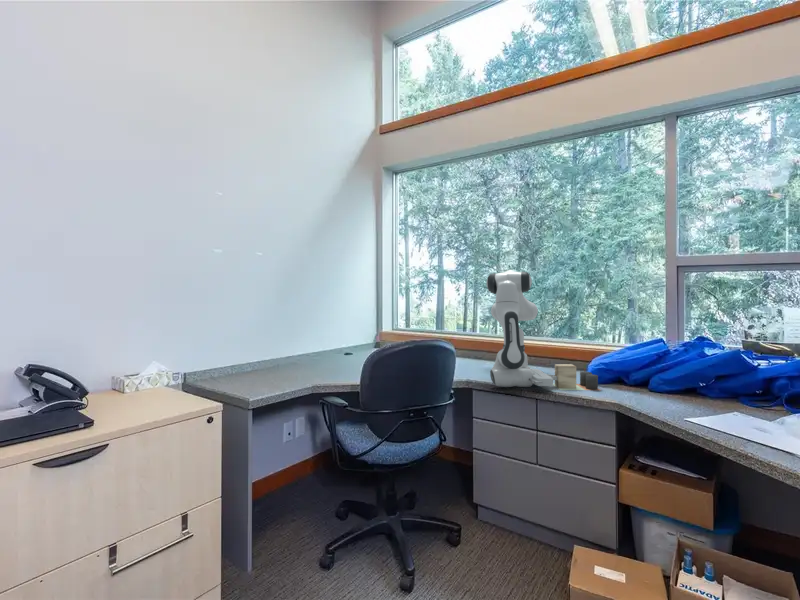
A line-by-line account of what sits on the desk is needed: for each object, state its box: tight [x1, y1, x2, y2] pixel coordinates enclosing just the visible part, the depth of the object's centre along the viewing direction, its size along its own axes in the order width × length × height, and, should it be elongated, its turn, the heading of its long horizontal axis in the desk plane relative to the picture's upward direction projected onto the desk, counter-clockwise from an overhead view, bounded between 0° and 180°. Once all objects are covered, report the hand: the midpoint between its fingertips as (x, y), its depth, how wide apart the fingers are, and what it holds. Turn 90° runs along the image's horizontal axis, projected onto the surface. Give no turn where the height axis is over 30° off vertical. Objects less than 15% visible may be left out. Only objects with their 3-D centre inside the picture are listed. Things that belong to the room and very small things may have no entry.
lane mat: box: [539, 383, 601, 391], centre depth 185 cm, size 12×25×1 cm, turn 88°
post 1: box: [579, 371, 593, 387], centre depth 187 cm, size 5×5×6 cm
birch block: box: [554, 363, 577, 388], centre depth 184 cm, size 5×8×10 cm, turn 88°
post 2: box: [586, 373, 599, 391], centre depth 181 cm, size 5×5×6 cm
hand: (556, 377), depth 185 cm, fingers closed, pressing on birch block
